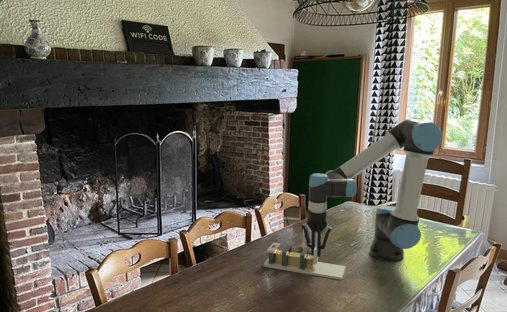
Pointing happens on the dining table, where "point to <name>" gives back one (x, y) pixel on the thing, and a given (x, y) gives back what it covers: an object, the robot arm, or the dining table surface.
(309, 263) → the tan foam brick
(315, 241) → the mug
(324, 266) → the slab
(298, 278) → the dining table surface
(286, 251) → the collars
